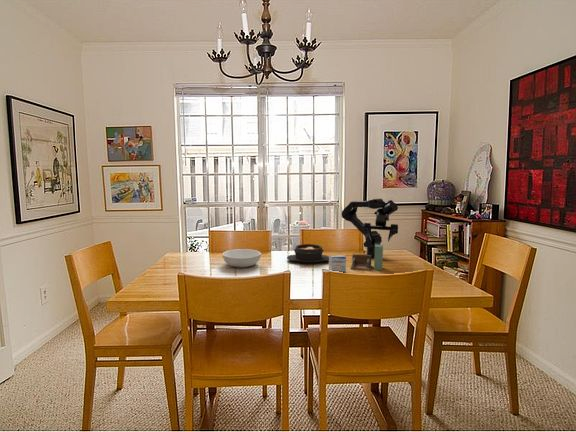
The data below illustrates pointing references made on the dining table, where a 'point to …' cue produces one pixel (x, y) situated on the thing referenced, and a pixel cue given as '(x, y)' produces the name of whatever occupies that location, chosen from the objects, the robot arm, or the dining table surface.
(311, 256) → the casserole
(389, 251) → the dining table surface
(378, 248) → the book
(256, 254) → the serving bowl
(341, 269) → the medicine box
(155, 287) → the dining table surface
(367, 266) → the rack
